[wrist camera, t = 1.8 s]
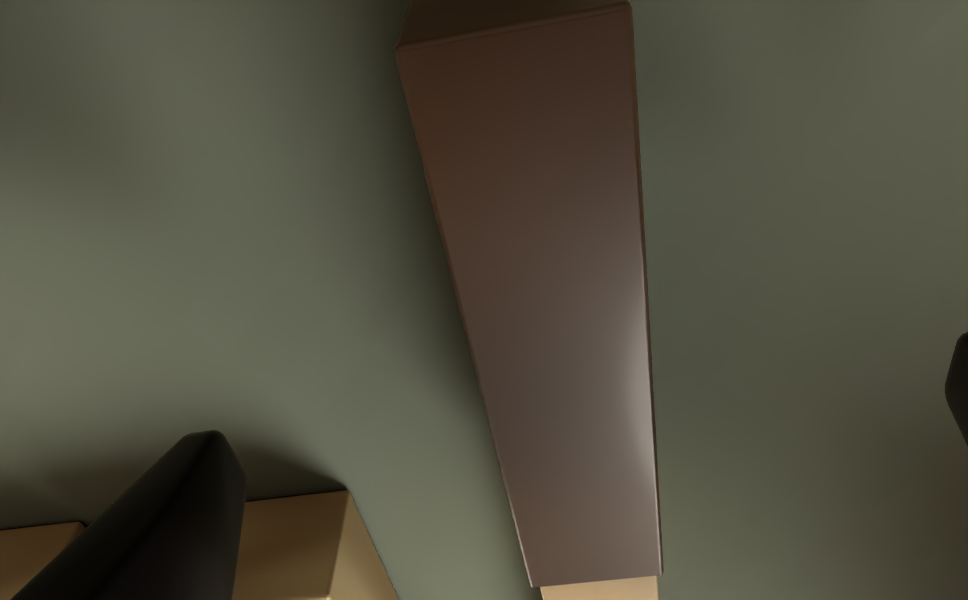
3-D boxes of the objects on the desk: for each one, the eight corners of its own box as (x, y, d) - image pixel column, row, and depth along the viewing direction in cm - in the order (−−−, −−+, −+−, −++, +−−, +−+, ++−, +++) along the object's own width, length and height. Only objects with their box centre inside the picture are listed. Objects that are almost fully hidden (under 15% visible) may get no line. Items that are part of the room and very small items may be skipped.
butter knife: (407, -22, 9) (380, 49, 6) (603, -60, 8) (645, -1, 6) (582, 736, 21) (592, 849, 19) (661, 730, 21) (682, 844, 19)
